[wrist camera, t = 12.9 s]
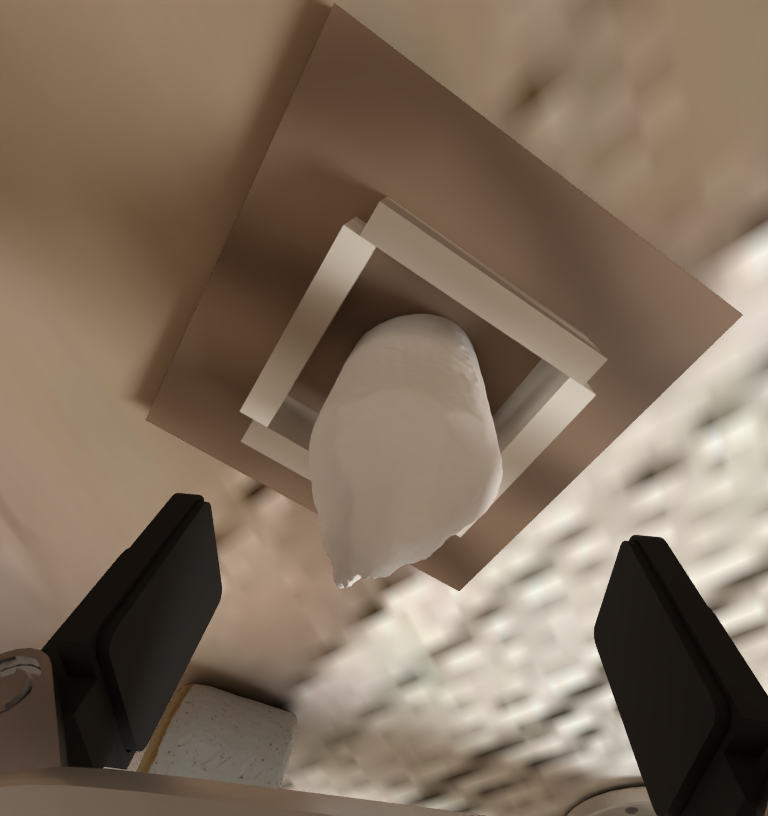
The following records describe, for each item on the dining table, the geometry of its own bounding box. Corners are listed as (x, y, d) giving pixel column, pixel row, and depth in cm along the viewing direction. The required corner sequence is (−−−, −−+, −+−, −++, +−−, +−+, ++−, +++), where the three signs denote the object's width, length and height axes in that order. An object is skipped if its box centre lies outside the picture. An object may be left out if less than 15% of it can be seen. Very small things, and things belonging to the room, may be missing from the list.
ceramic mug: (189, 654, 32) (121, 790, 25) (307, 692, 32) (274, 834, 26) (165, 736, 36) (103, 869, 30) (268, 767, 37) (231, 904, 30)
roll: (398, 724, 12) (198, 605, 10) (413, 457, 22) (315, 382, 21) (600, 594, 9) (373, 421, 8) (508, 365, 20) (405, 276, 19)
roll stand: (458, 577, 27) (462, 640, 23) (156, 410, 24) (107, 453, 20) (728, 308, 19) (797, 339, 16) (339, 12, 16) (314, -33, 13)
